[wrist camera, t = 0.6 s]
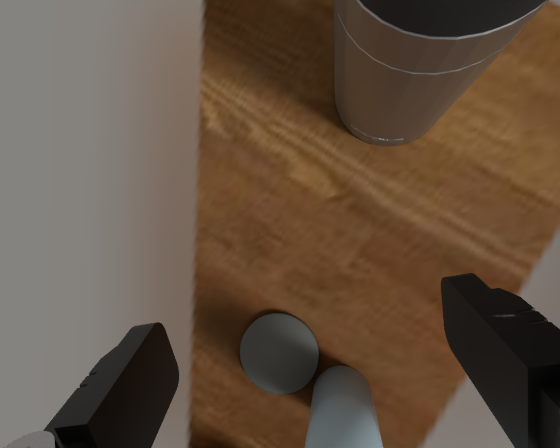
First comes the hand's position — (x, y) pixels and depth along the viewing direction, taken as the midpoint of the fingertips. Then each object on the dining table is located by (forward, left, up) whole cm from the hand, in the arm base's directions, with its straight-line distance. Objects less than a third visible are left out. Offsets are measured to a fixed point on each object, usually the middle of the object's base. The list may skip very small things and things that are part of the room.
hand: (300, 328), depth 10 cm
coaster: (+9, -1, -21) cm, 23 cm away
